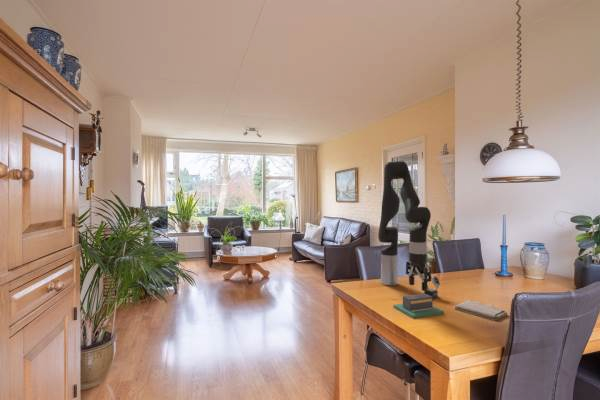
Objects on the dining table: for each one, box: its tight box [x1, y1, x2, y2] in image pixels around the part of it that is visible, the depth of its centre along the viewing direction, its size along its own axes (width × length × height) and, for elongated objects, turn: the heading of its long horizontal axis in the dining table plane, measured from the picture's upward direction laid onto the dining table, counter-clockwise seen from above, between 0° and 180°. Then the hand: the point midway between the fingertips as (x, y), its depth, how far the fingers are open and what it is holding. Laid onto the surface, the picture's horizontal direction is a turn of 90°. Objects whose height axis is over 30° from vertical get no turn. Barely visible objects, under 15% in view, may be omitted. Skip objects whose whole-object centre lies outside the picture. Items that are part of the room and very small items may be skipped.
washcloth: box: [454, 299, 508, 322], centre depth 141 cm, size 12×18×3 cm, turn 37°
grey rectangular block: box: [402, 293, 434, 311], centre depth 143 cm, size 12×5×5 cm, turn 108°
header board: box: [392, 303, 445, 319], centre depth 143 cm, size 14×16×5 cm
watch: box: [423, 274, 441, 299], centre depth 162 cm, size 6×8×11 cm
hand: (417, 287), depth 143 cm, fingers open, 8 cm apart
